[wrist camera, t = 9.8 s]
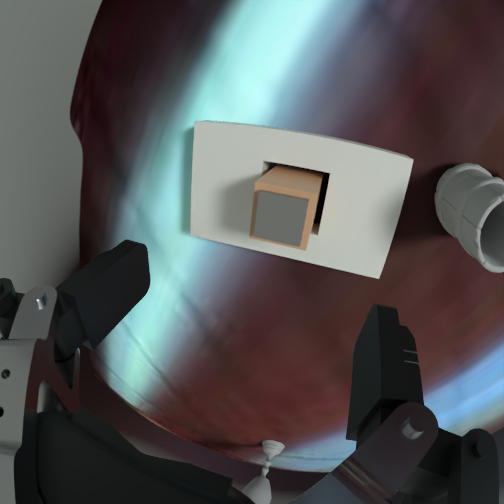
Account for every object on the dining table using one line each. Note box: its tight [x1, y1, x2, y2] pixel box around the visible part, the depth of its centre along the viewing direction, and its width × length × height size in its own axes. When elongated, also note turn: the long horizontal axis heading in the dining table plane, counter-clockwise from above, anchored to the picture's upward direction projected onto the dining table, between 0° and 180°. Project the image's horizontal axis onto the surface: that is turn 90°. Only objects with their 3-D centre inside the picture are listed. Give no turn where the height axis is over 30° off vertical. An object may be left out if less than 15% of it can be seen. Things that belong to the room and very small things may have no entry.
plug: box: [249, 165, 323, 251], centre depth 25 cm, size 5×5×9 cm
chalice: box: [242, 440, 285, 504], centre depth 45 cm, size 7×7×18 cm
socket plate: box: [190, 120, 413, 279], centre depth 27 cm, size 12×20×3 cm, turn 84°
